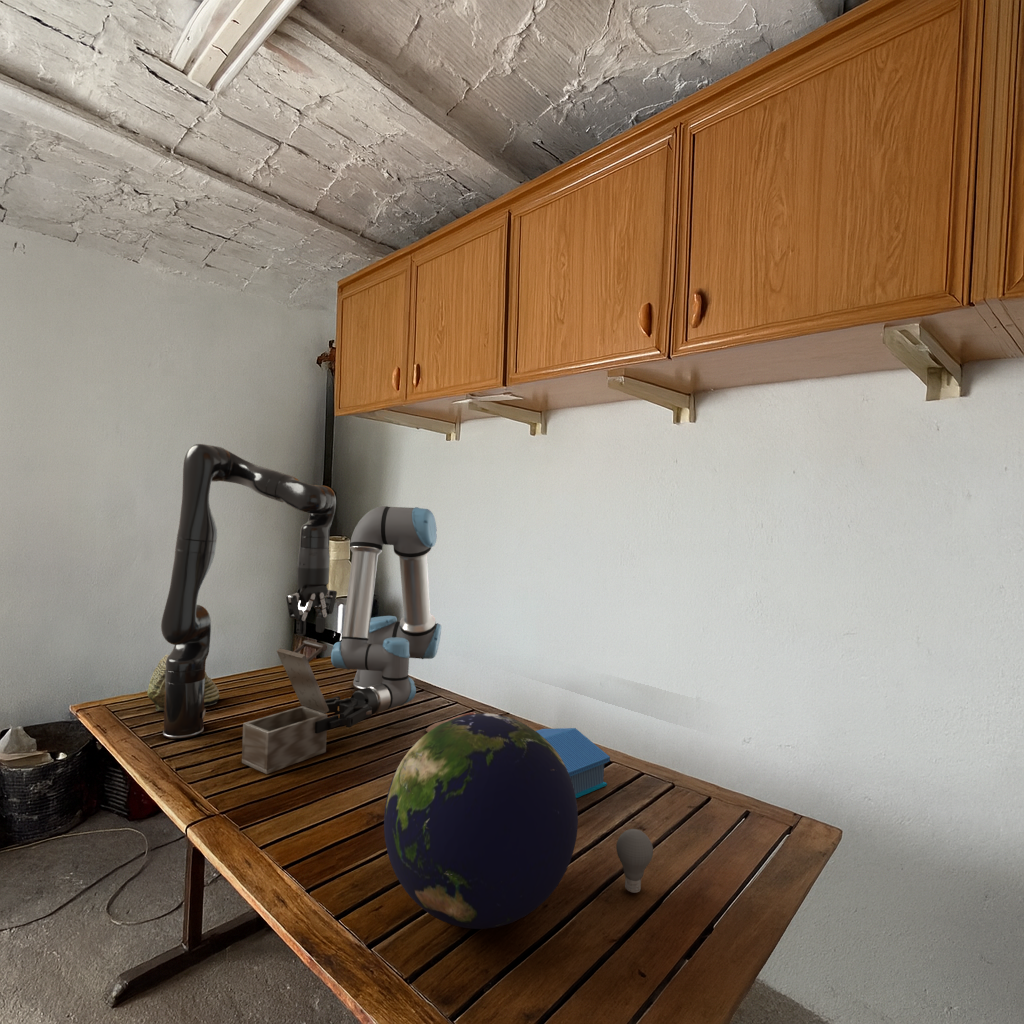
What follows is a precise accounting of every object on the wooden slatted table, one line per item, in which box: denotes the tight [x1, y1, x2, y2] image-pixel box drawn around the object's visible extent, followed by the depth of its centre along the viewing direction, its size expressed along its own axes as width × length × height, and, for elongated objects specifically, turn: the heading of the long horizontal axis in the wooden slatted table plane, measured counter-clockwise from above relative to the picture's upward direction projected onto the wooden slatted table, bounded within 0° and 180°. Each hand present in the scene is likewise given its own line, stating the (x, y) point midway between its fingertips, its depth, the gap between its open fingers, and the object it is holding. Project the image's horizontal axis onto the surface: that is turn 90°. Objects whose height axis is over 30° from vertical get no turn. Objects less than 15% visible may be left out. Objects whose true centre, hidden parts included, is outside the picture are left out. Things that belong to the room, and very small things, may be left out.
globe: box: [383, 712, 579, 930], centre depth 99 cm, size 30×30×30 cm
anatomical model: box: [425, 711, 477, 733], centre depth 175 cm, size 13×4×12 cm
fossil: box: [147, 654, 221, 712], centre depth 185 cm, size 9×18×15 cm, turn 132°
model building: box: [535, 727, 611, 799], centre depth 138 cm, size 39×24×10 cm, turn 132°
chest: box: [241, 705, 328, 775], centre depth 153 cm, size 17×10×9 cm, turn 146°
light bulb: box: [615, 828, 654, 894], centre depth 106 cm, size 6×6×10 cm
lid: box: [276, 639, 329, 714], centre depth 159 cm, size 17×10×8 cm
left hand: (310, 633), depth 157 cm, fingers open, 5 cm apart
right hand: (302, 722), depth 156 cm, fingers closed on chest, 10 cm apart
